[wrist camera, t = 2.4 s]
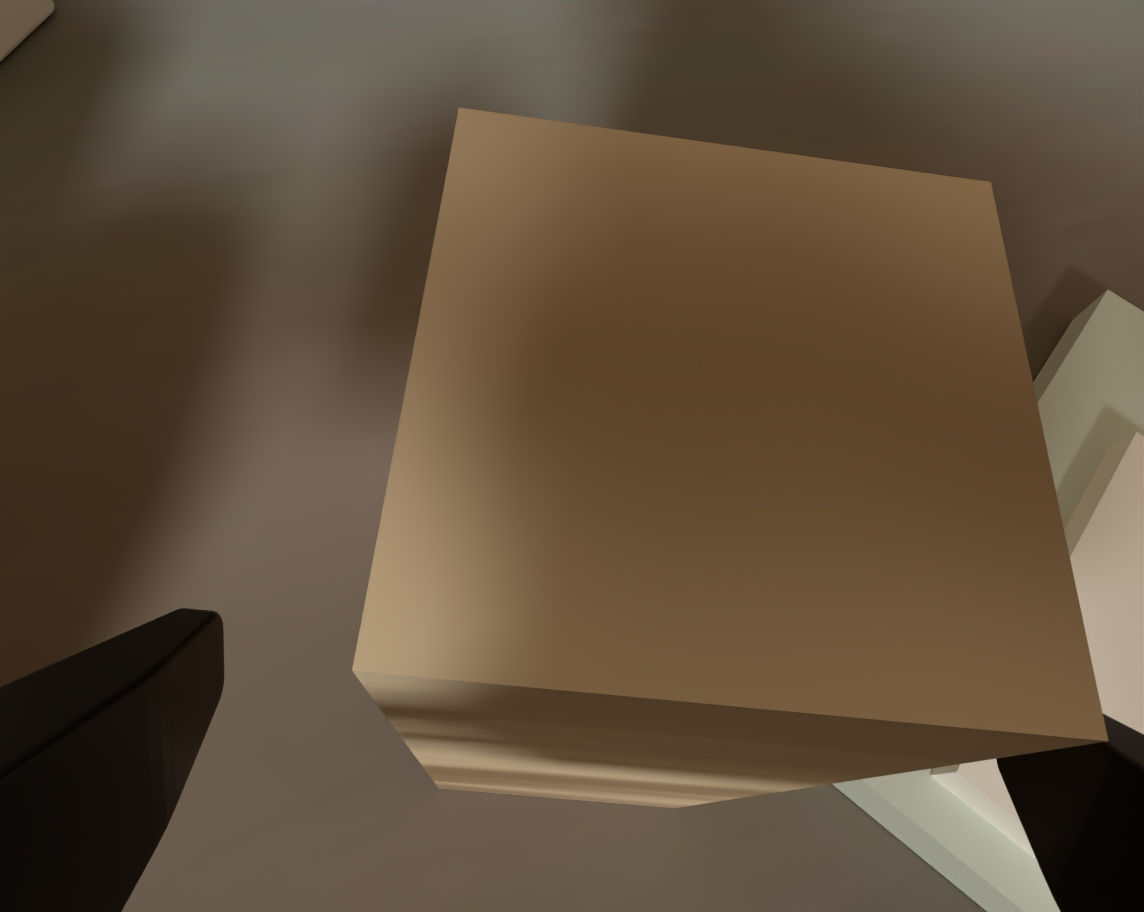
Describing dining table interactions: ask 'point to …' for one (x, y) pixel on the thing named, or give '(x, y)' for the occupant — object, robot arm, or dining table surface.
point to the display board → (1106, 595)
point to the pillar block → (716, 480)
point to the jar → (20, 21)
